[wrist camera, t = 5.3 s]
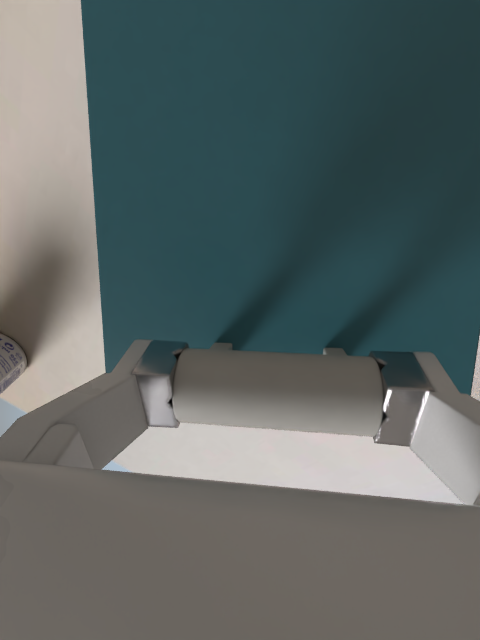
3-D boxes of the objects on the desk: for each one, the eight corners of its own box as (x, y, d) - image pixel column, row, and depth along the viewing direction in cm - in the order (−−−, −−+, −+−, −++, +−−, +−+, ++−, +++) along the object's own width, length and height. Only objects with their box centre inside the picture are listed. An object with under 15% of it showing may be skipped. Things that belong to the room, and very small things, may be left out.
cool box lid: (455, 414, 12) (575, 522, 7) (116, 393, 14) (23, 468, 9) (524, -74, 10) (794, -446, 5) (90, -28, 11) (-66, -263, 6)
